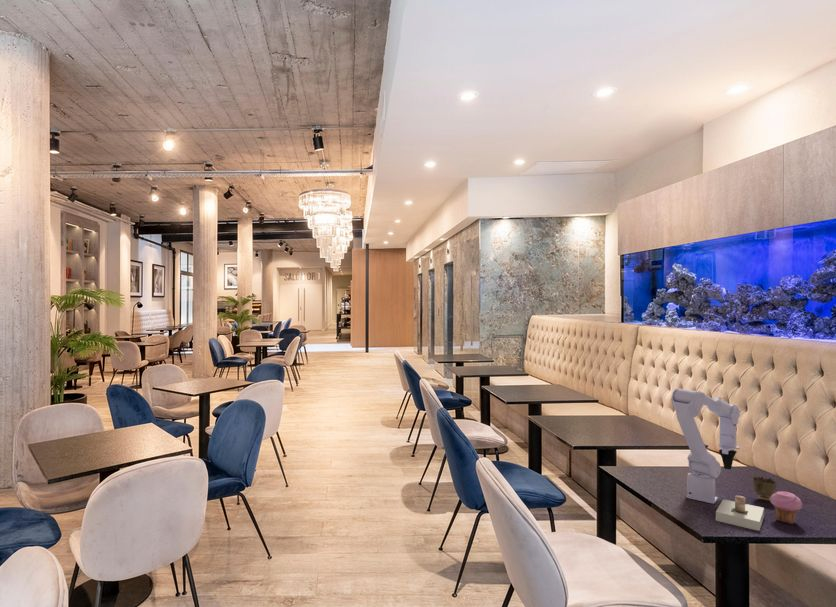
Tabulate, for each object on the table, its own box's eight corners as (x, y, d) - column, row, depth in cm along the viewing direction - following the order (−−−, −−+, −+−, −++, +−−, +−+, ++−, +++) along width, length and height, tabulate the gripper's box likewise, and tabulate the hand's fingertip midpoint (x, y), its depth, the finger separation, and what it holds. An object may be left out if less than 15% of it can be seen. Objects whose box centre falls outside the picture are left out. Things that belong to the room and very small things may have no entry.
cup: (780, 504, 190) (780, 483, 190) (758, 502, 192) (758, 481, 192) (770, 497, 198) (770, 476, 198) (749, 495, 199) (749, 475, 199)
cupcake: (767, 520, 175) (768, 491, 175) (773, 514, 181) (773, 485, 181) (799, 528, 168) (799, 498, 168) (804, 521, 174) (804, 492, 175)
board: (715, 520, 174) (715, 511, 174) (723, 507, 186) (723, 499, 186) (759, 530, 166) (759, 521, 166) (764, 516, 178) (764, 507, 178)
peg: (734, 520, 174) (734, 497, 174) (735, 517, 176) (735, 494, 177) (744, 522, 172) (744, 499, 172) (745, 520, 175) (745, 496, 175)
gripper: (737, 439, 193) (736, 475, 193) (742, 432, 204) (741, 466, 204) (716, 436, 197) (715, 471, 197) (722, 430, 209) (721, 463, 208)
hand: (727, 468), depth 201 cm, fingers closed
